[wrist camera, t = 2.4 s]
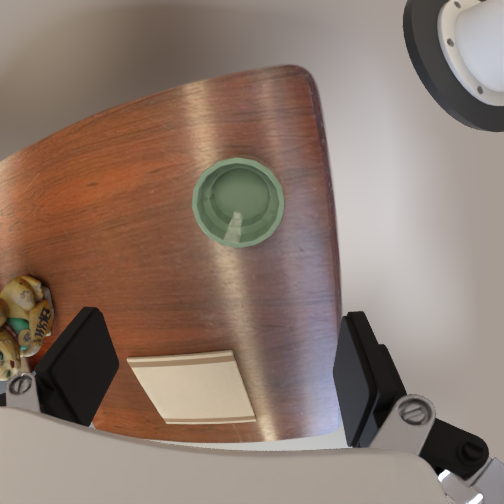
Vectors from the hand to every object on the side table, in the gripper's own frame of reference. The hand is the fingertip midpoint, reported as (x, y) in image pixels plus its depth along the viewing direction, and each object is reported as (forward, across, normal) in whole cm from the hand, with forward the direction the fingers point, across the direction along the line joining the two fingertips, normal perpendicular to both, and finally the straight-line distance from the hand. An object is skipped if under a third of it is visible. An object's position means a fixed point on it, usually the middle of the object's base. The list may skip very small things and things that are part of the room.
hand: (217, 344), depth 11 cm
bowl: (+18, 0, -2) cm, 18 cm away
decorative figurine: (+18, +28, +10) cm, 35 cm away
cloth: (+18, +8, +24) cm, 31 cm away
